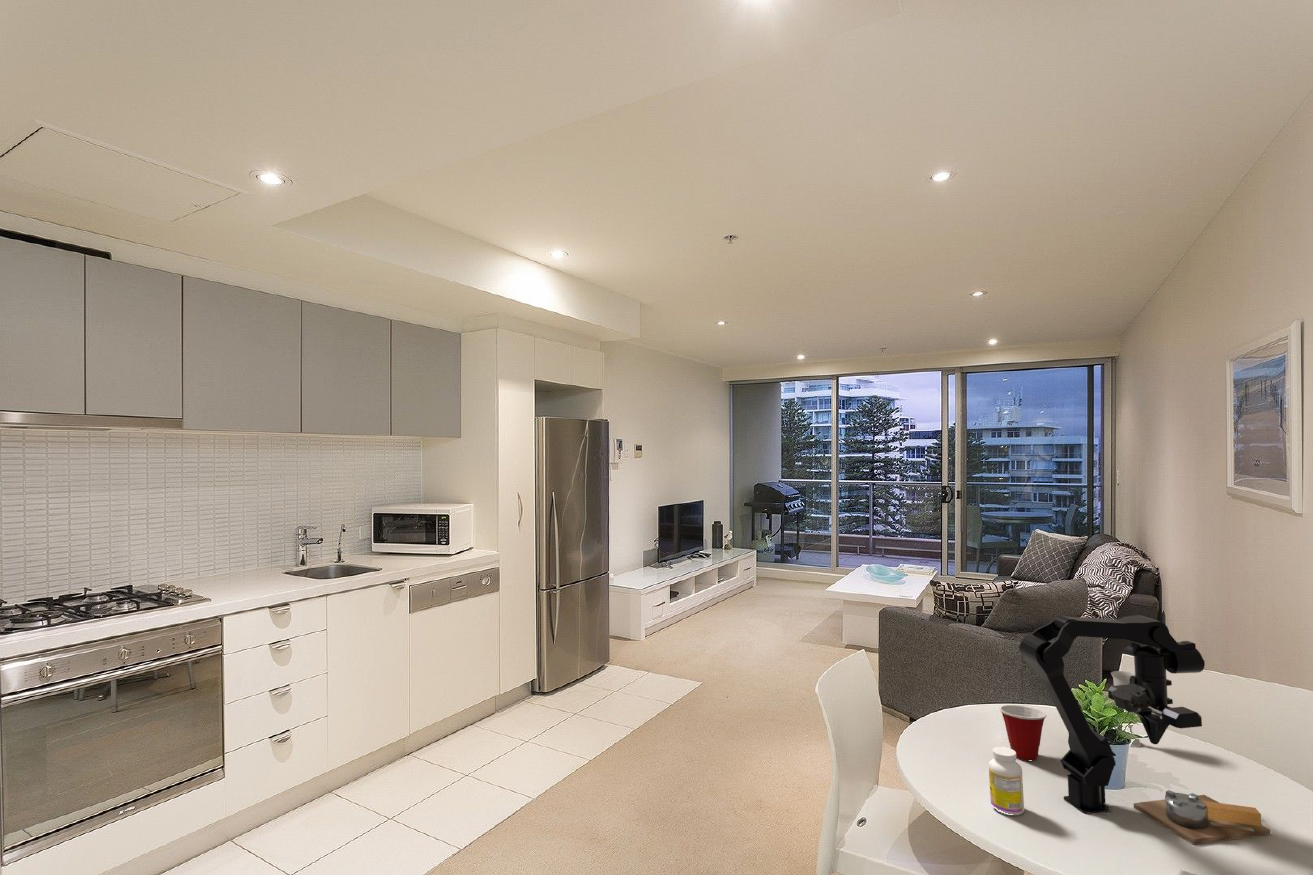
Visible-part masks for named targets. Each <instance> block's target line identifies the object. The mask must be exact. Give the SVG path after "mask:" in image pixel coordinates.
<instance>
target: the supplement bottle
mask: <svg viewBox="0 0 1313 875" xmlns="http://www.w3.org/2000/svg"><path fill="white" fill-rule="evenodd" d="M992 756H993V758H992V759H991V760H989V763H988V776H989V778H988V779H989V796H990V805H991V804H992V805H993V806H994V807H996V808H997V809H998V810H1001V811H1003V812H1005V813H1008V814H1013V815H1017V816H1020V815H1019V814H1021V815H1022V814H1023V813H1024V811H1025V801H1024V799H1025V798H1024V783H1023V780H1024V779H1023V769H1022V766H1021V765H1020V763H1019V762H1017V761H1016V760H1017V757H1016V752H1015V751H1014V750H1012V749H1011V747H1010V748H1009V747H1007V746H1006V747H1005V746H995V747H994V748H992Z"/></svg>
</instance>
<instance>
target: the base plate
mask: <svg viewBox="0 0 1313 875" xmlns="http://www.w3.org/2000/svg"><path fill="white" fill-rule="evenodd" d="M1197 795H1198V796H1199V799H1201V800H1202V801H1208V802H1215V803H1220V802H1219V801H1217V800H1215V799H1213V798H1211V797H1210V796H1207V795H1206V794H1197ZM1133 809H1135V810H1137V811H1139V812H1140V813H1142V814H1144V815H1145V816H1146V817H1148V818H1150V819H1151V820H1153V821H1155V822H1156V823H1158V824H1159V825H1160V826H1163V827H1165V828H1166V829H1168V830H1169V831H1171V832H1172V833H1174V834H1176V835H1177V836H1179V837H1181V838H1183V839H1184V840H1185V841H1187V842H1189V843H1191V845H1199V844H1207V843H1215V842H1222V841H1223V842H1225V841H1231V840H1237V839H1238V840H1239V839H1245V838H1246V839H1247V838H1251V837H1260V836H1268V835H1271V833H1272V832H1271V829H1270V828H1268V827H1266V826H1264V825H1263V824H1261V826H1256V825H1249V824H1241V823H1234V822H1227V821H1220V820H1213V819H1208V823H1209V825H1208V827H1206V828H1191V827H1187V826H1183V825H1180V824H1178V823H1176V822H1174V821H1172V820H1170V819H1169V818H1168V817H1167V816H1166V806H1165V798H1164V799H1158V800H1148V801H1141V802H1133Z"/></svg>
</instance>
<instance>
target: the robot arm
mask: <svg viewBox="0 0 1313 875" xmlns="http://www.w3.org/2000/svg"><path fill="white" fill-rule="evenodd" d="M1077 637H1083V638H1084V637H1085V638H1099V639H1101V638H1102V639H1117V640H1118V639H1119V640H1120V639H1121V640H1127V641H1132V642H1130V644H1129V645H1127V646H1126V647H1125V648H1123V652H1124V653H1127V654H1129V655H1132V656H1133V660H1134V661H1133V662H1134V674H1135V675H1134V676H1130V677H1131V678H1130V682H1129V684H1128V685H1117V686H1114V685H1111V686H1110V687H1109V689H1107V694H1108V699H1110V700H1113V701H1114V704H1115V706H1116V707H1117V708H1121V709H1123V710H1125V711H1128V712H1131V713H1134V714H1135V716H1138V718H1139V719H1140V722H1141V723H1142V726H1143V728H1144V730H1145V732H1146V735H1147V738H1148V740H1149V742H1150V743H1151V744H1153V745H1158V744H1159V743H1160V741H1161V739H1162V738H1163V736H1164V734H1165V732H1166V731H1167V729H1168V728H1169V726H1172V727H1174V728H1176V729H1190V728H1198V727H1199V728H1200V727H1203V722H1202V721H1203V718H1202V716H1201V714H1199V712H1197V711H1195V710H1191V709H1189V708H1187V707H1185V706H1177V707H1176V706H1175V707H1172V706H1169V705H1173V704H1174V702H1173V698H1170V697H1169V696H1168V687H1170V686H1173V685H1172V684H1173V683H1172V680H1171V679H1167V672H1168V673H1170V674H1174V675H1175V674H1193V673H1194V674H1197V673H1201V672H1203V671H1204V669H1205V660H1204V659H1203V658H1204V657H1203V655H1202V654H1201V653H1200V651H1199V650H1198V649H1197V647H1196V643H1195V642H1192V641H1188V640H1181V641H1176V639H1175V638H1174V637H1173V636H1172V635H1171V633H1170V629H1169V628H1168V626H1167V625H1166V623H1165V622H1162V621H1159V620H1156V619H1154V618H1151V617H1147V616H1144V615H1140V614H1135V615H1127V616H1123V617H1120V618H1117V619H1116V618H1115V619H1112V618H1095V617H1078V616H1067V615H1063V614H1062V615H1057V616H1055V617H1054V618H1053V619H1052V620H1051V621H1050V622H1049V623H1046V624H1044V625H1042V626H1040V627H1038V628H1036V629H1034V631H1032V632H1031V633H1030V634H1029V635H1027V636H1025V637H1024V638H1022V640H1021V641H1020V644H1019V646H1018V648H1019V652H1020V654H1021V655H1022V657H1023V659H1024V660H1025V661H1026V662H1027V664H1028V665H1029V666H1030V667H1031V668H1032V669H1033V671H1035V672H1036V673H1037V675H1038V676H1039V677H1040V679H1041V680H1042V682H1043V684H1044V686H1045V688H1046V690H1047V692H1048V694H1049V696H1050V699H1051V700H1052V702H1053V705H1054V706H1055V708H1056V710H1057V712H1058V714H1059V716H1060V718H1061V720H1062V722H1063V724H1064V726H1065V728H1066V730H1067V733H1068V738H1067V742H1068V747H1069V750H1068V751H1067V752H1066V753H1065V754H1064V755H1063V756H1062V757H1061V759H1060V763H1061V764H1060V765H1061V766H1062V768H1063V769H1064V770H1065V771H1067V772H1069V774H1067V791H1068V792H1067V793H1068V795H1064V796H1063V800H1064V801H1066V802H1067V803H1069V804H1071V805H1072V806H1073V807H1075V808H1076V809H1078V810H1080V811H1081V812H1082V813H1084V814H1091V813H1100V812H1101V813H1102V812H1110V811H1111V807H1110V806H1109V805H1107V804H1106V801H1107V800H1106V787H1107V786H1109V784H1110V781H1111V777H1112V774H1113V770H1114V769H1115V767H1116V760H1115V757H1116V756H1117V754H1116V753H1115V752H1114V751H1113V750H1112V747H1111V745H1110V742H1109V740H1108V738H1107V737H1105V736H1103V735H1101V734H1100V733H1098V732H1097V731H1095V730H1093V729H1092V728H1091V726H1090V724H1089V722H1088V720H1087V718H1086V716H1085V714H1084V713H1083V710H1082V708H1081V706H1080V705H1079V702H1078V700H1077V698H1076V697H1075V695H1074V693H1073V690H1072V688H1071V687H1070V684H1069V682H1068V680H1067V678H1066V677H1065V662H1064V659H1063V658H1064V657H1065V655H1067V653H1069V652H1070V650H1071V648H1072V645H1073V643H1074V641H1075V639H1077ZM1055 638H1056V639H1055ZM1053 639H1054V641H1053V642H1051V641H1052V640H1053ZM1138 643H1139V644H1138ZM1140 644H1142V645H1140Z"/></svg>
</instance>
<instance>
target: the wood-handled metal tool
mask: <svg viewBox="0 0 1313 875" xmlns="http://www.w3.org/2000/svg"><path fill="white" fill-rule="evenodd" d="M1198 795H1199V794H1196V793H1193V792H1191V793H1189V794H1186V793H1182V792H1181V793H1180V792H1175V791H1172V790H1170V789H1168V790H1166V791H1165V795H1164V799H1165V806H1166V816H1167V817H1168V818H1169V819H1170V820H1172V821H1174V822H1176V823H1178V824H1180V825H1183V826H1187V827H1191V828H1206V827H1208V825H1209V823H1208V819H1213V820H1220V821H1227V822H1234V823H1241V824H1249V825H1256V826H1261V825H1262V813H1260V811H1259V810H1258V809H1257V808H1256V807H1254V806H1253V807H1251V806H1245V805H1238V804H1237V805H1235V804H1230V803H1222V802H1219V803H1215V802H1208V801H1202V800H1201V799H1199V796H1198Z"/></svg>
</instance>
